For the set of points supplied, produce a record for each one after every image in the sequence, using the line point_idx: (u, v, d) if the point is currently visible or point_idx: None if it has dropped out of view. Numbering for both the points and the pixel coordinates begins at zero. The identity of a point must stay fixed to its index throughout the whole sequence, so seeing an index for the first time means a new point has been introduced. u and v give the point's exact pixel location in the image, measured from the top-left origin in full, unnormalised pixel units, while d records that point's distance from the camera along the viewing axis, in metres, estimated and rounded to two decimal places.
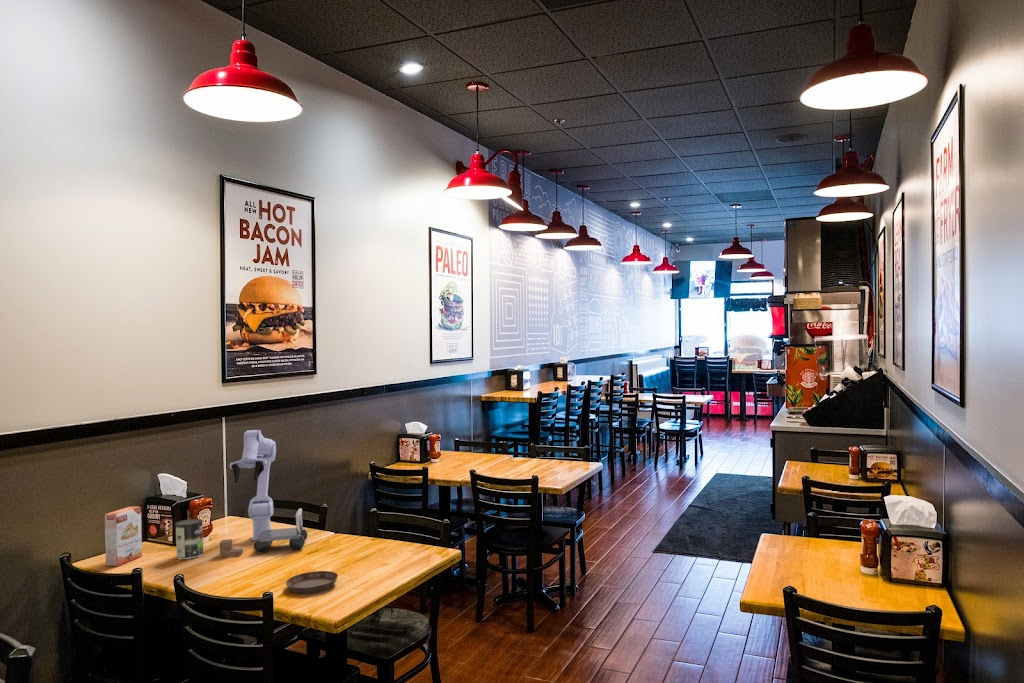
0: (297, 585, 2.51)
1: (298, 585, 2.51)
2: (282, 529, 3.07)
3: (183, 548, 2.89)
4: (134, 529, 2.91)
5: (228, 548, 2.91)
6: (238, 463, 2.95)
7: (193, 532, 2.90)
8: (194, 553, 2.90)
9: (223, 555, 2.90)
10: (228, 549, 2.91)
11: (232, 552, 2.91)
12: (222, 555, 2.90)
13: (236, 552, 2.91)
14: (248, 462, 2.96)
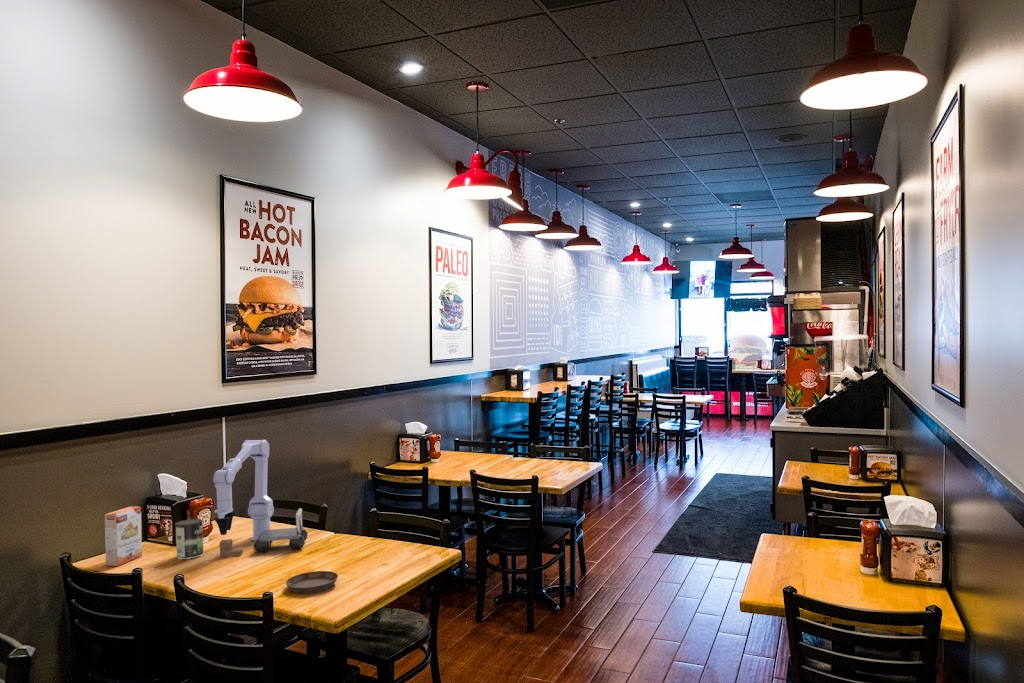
0: (297, 585, 2.51)
1: (298, 585, 2.51)
2: (282, 529, 3.07)
3: (183, 548, 2.89)
4: (134, 529, 2.91)
5: (228, 548, 2.91)
6: None
7: (194, 532, 2.90)
8: (194, 553, 2.90)
9: (223, 555, 2.90)
10: (228, 549, 2.91)
11: (232, 552, 2.91)
12: (222, 555, 2.90)
13: (236, 552, 2.91)
14: None
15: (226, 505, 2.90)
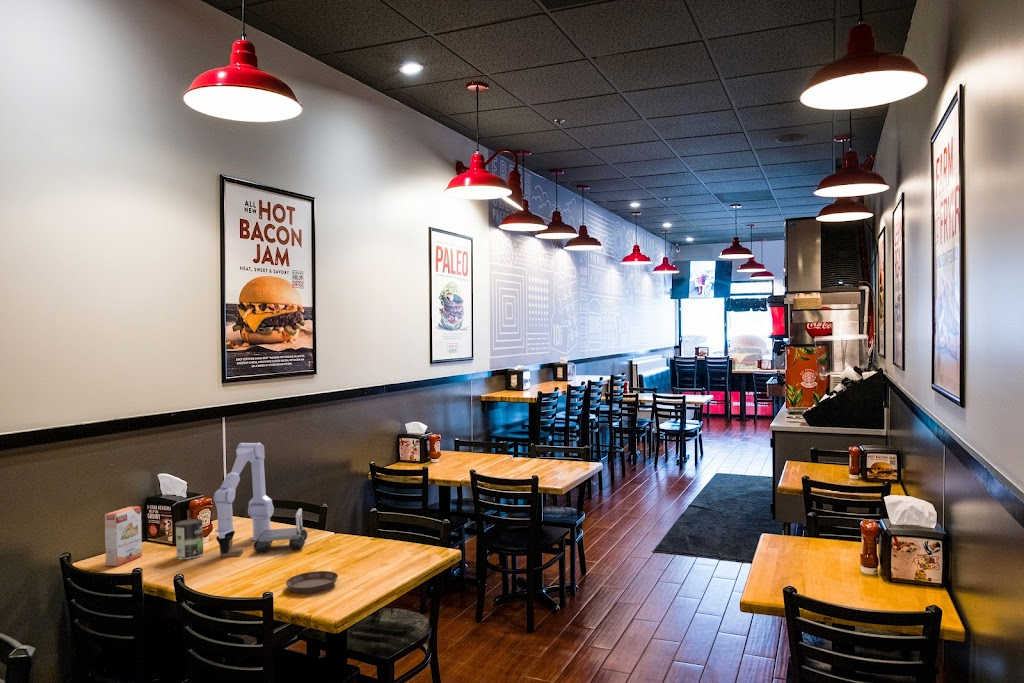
0: (297, 585, 2.51)
1: (298, 585, 2.51)
2: (282, 529, 3.07)
3: (183, 548, 2.89)
4: (134, 529, 2.91)
5: None
6: None
7: (193, 532, 2.90)
8: (194, 553, 2.90)
9: (223, 555, 2.90)
10: (228, 549, 2.91)
11: (232, 552, 2.91)
12: (222, 555, 2.90)
13: (236, 552, 2.91)
14: None
15: (227, 524, 2.90)
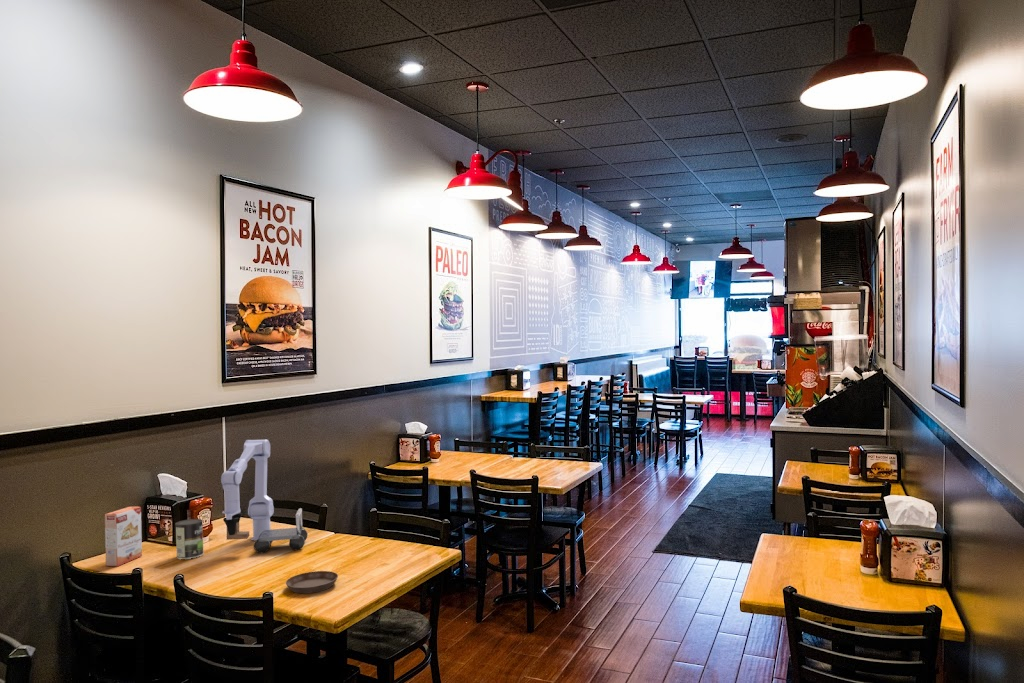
0: (297, 584, 2.51)
1: (298, 585, 2.51)
2: (282, 529, 3.07)
3: (183, 548, 2.89)
4: (134, 529, 2.91)
5: None
6: None
7: (193, 532, 2.90)
8: (194, 553, 2.90)
9: (230, 537, 2.91)
10: (235, 531, 2.91)
11: (239, 535, 2.91)
12: (229, 537, 2.91)
13: (243, 534, 2.92)
14: None
15: (234, 506, 2.91)
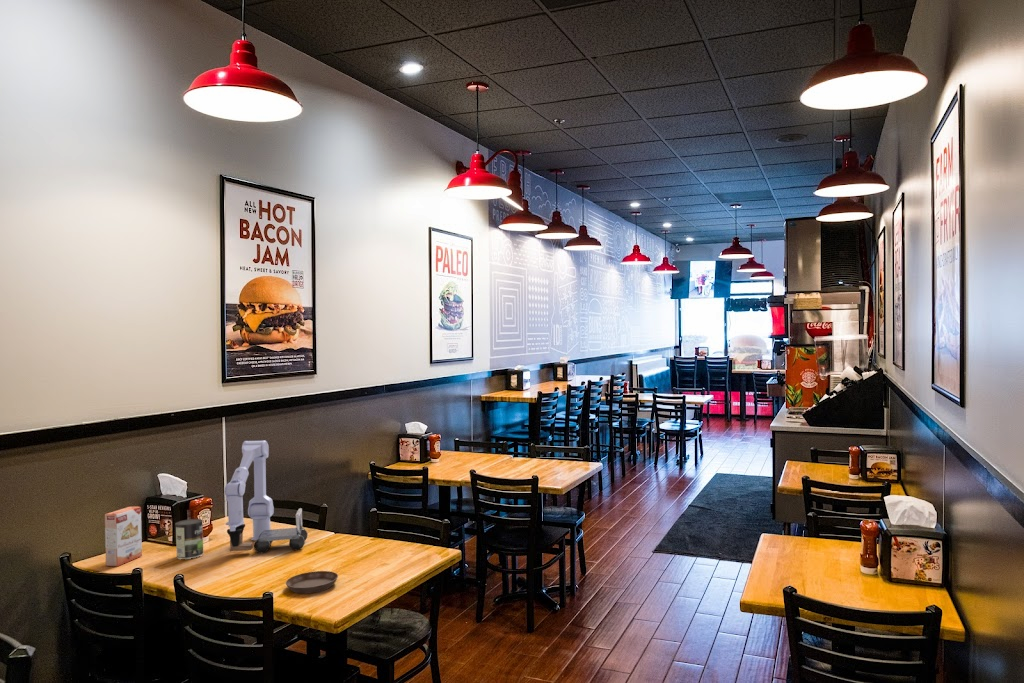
0: (297, 585, 2.51)
1: (298, 585, 2.51)
2: (282, 529, 3.07)
3: (183, 548, 2.89)
4: (134, 529, 2.91)
5: None
6: None
7: (193, 532, 2.90)
8: (194, 553, 2.90)
9: (233, 549, 2.91)
10: None
11: (242, 546, 2.92)
12: (232, 549, 2.91)
13: (246, 546, 2.92)
14: None
15: (238, 517, 2.91)
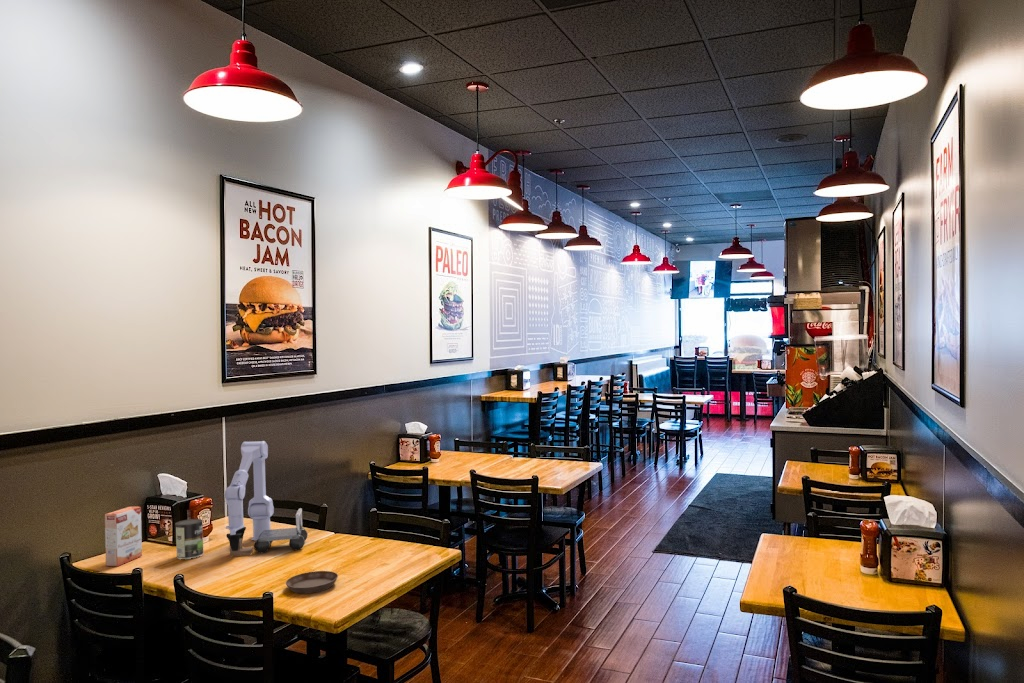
0: (297, 585, 2.51)
1: (298, 585, 2.51)
2: (282, 529, 3.07)
3: (183, 548, 2.89)
4: (134, 529, 2.91)
5: (238, 547, 2.91)
6: None
7: (193, 532, 2.90)
8: (194, 553, 2.90)
9: (233, 554, 2.91)
10: (238, 548, 2.91)
11: (242, 551, 2.92)
12: (232, 554, 2.91)
13: (246, 551, 2.92)
14: None
15: (238, 521, 2.91)
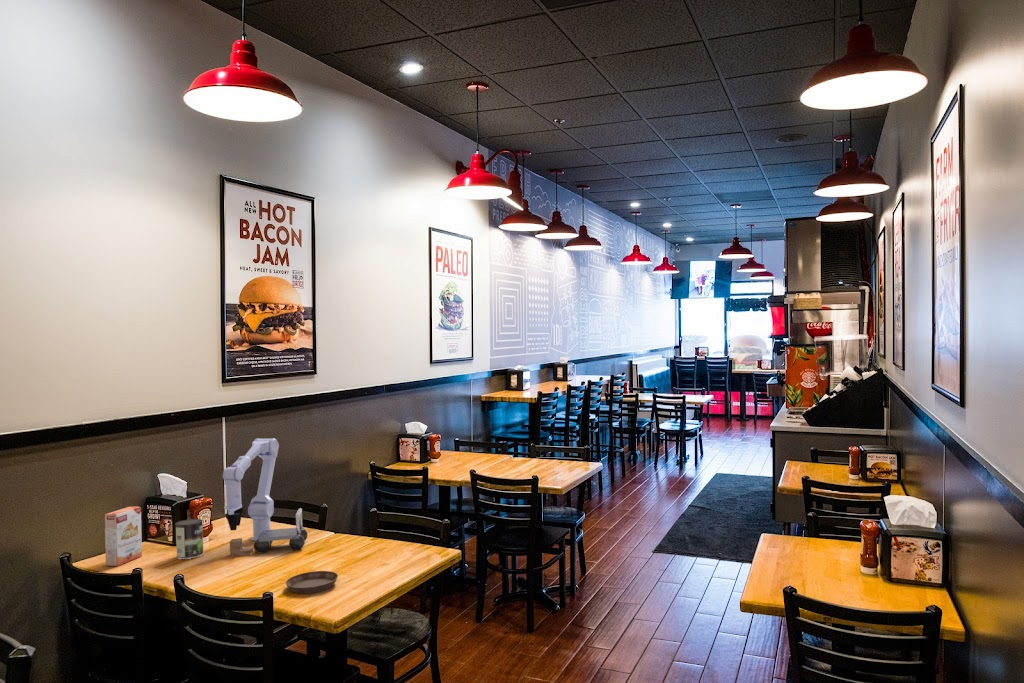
0: (297, 584, 2.51)
1: (298, 585, 2.51)
2: (282, 529, 3.07)
3: (183, 548, 2.89)
4: (134, 529, 2.91)
5: (238, 547, 2.91)
6: None
7: (193, 532, 2.90)
8: (194, 553, 2.90)
9: (233, 554, 2.91)
10: (238, 548, 2.91)
11: (242, 551, 2.92)
12: (232, 554, 2.91)
13: (246, 551, 2.92)
14: None
15: (236, 501, 2.98)
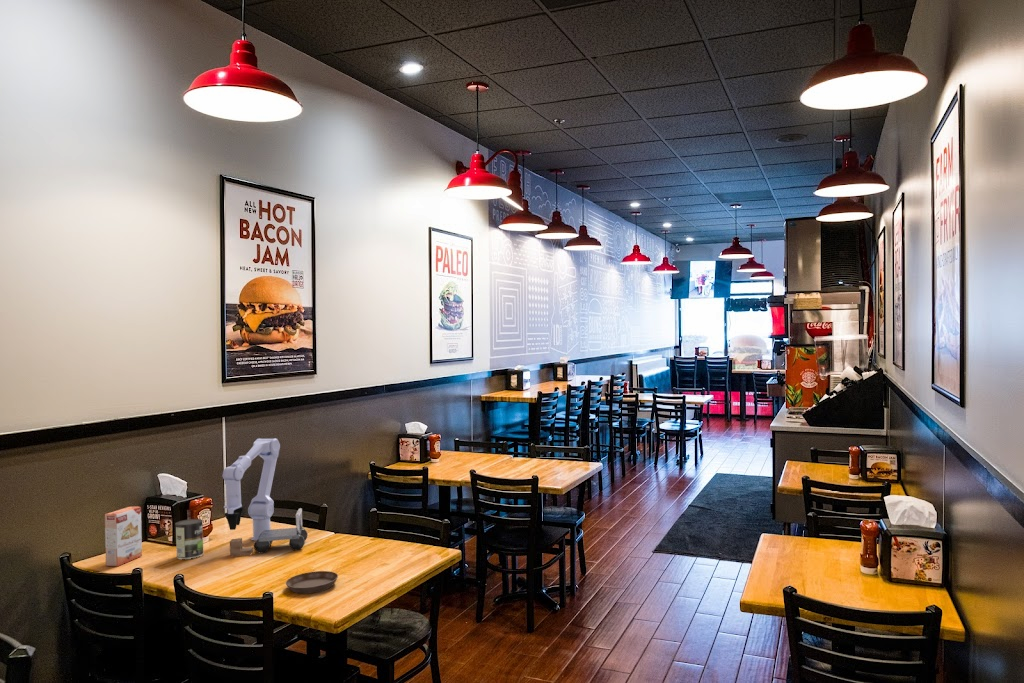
0: (297, 585, 2.51)
1: (298, 585, 2.51)
2: (282, 529, 3.07)
3: (183, 548, 2.89)
4: (134, 529, 2.91)
5: (238, 547, 2.91)
6: None
7: (193, 532, 2.90)
8: (194, 553, 2.90)
9: (233, 554, 2.91)
10: (238, 548, 2.91)
11: (242, 551, 2.92)
12: (232, 554, 2.91)
13: (246, 551, 2.92)
14: None
15: (236, 500, 2.99)
